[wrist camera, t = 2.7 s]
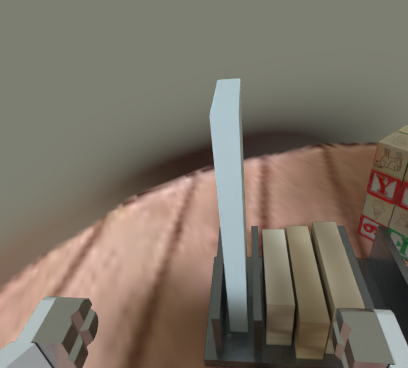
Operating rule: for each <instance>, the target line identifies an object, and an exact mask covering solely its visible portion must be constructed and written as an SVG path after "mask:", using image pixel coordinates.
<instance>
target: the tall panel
mask: <svg viewBox="0 0 408 368" xmlns="http://www.w3.org/2000/svg"><path fill="white" fill-rule="evenodd" d="M210 125H211V135H212V145H213V155H214V166H215V176H216V186H217V196H218V207H219V217H220V227H221V237H222V248H223V258H224V268H225V278H226V289H227V299H228V309H229V319H230V330H231V332H248V273H247V247H246V220H245V193H244V166H243V142H242V114H241V87H240V78H239V79H225V80H218V81H217V85H216V90H215V94H214V98H213V103H212V107H211V111H210Z"/></svg>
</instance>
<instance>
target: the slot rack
mask: <svg viewBox="0 0 408 368" xmlns="http://www.w3.org/2000/svg"><path fill="white" fill-rule="evenodd" d="M337 228H338V231H339V234H340V236H341V239H342V242H343V245H344V248H345V251H346V254H347V257H348V260H349V262H350V265H351V268H352V271H353V274H354V277H355V280H356V283H357V286H358V288H359V291H360V294H361V297H362V300H363V303H364V306H365V309H386V310H391V311H392V312H393V313H394V315H395V317H396V320H397V322H398V324H399V327H400V329H401V331H402V334H403V336H404V338H405V340H406V343H407V345H408V268H407V266H406V265H405V263H404V261H403V259H402V257H401V255H400V253H399V251H398V249H397V248H396V246H395V244H394V242H393V240H392V238H391V236H390V234H389V232H388V231H387V229H386V227H385V226H378V227H377V231H376V235H375V238H374V242H373V246H372V249H371V253H370V256H369V259H356V257H355V254H354V252H353V249H352V246H351V244H350V241H349V238H348V236H347V233H346V230H345V227H344V226H337ZM251 230H252V258H247V273H248V332H231V330H230V319H229V309H228V299H227V289H226V278H225V268H224V258H223V248H222V237H221V227H220V230H219V241H218V251H217V257H214V266H213V276H212V286H211V295H210V305H209V315H208V324H207V334H206V343H205V353H204V363H205V365H206V366H222V367H239V368H339V365H340V361H341V360H340V359H339V358H338V357H337V356H336V355H335V354H326V353H325V351H324V356H323V360H321V359H302V358H296V351H295V343H294V336H293V330H292V341H291V346H288V345H268V344H266V330H265V312H264V294H263V276H262V258H259V245H258V226H251Z"/></svg>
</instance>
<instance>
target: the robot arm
mask: <svg viewBox="0 0 408 368" xmlns="http://www.w3.org/2000/svg"><path fill="white" fill-rule="evenodd" d="M91 306H92V303H91V301H90V300H89V298H68V297H49V296H46V297H44V298H43V299H42V300H41V301H40V303H39V304H38V306H37V308H36V309H35V311H34V313H33V314H32V316H31V317H30V319H29V321H28V322H27V324H26V326H25V327H24V329H23V330H22V332H21V334H20V335H19V337H18V339H17V340H16V342H10V343H9V344H8V345H7V346H5V347H4V348H3V349H1V350H0V368H83V365H84V363H85V360H86V358H87V356H88V350H87V346H88V345H89V344H90V343H91V342H92V341H93V340H94V338H95V335H96V333H97V328H98V316H97V314H96V312H95V311H93V310H92V309H90V308H91ZM335 316H336V320H337V321H335V322H334V323H333V325H332V343H333V348H334V353H335V355H336V356H337V357H338V358H339V359H340V360H341V361H340V365H339V368H408V345H407V343H406V340H405V338H404V336H403V334H402V331H401V329H400V327H399V324H398V322H397V320H396V317H395V315H394V313H393V312H392V311H391V310H386V309H365V308H338V309H336V313H335Z"/></svg>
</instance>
